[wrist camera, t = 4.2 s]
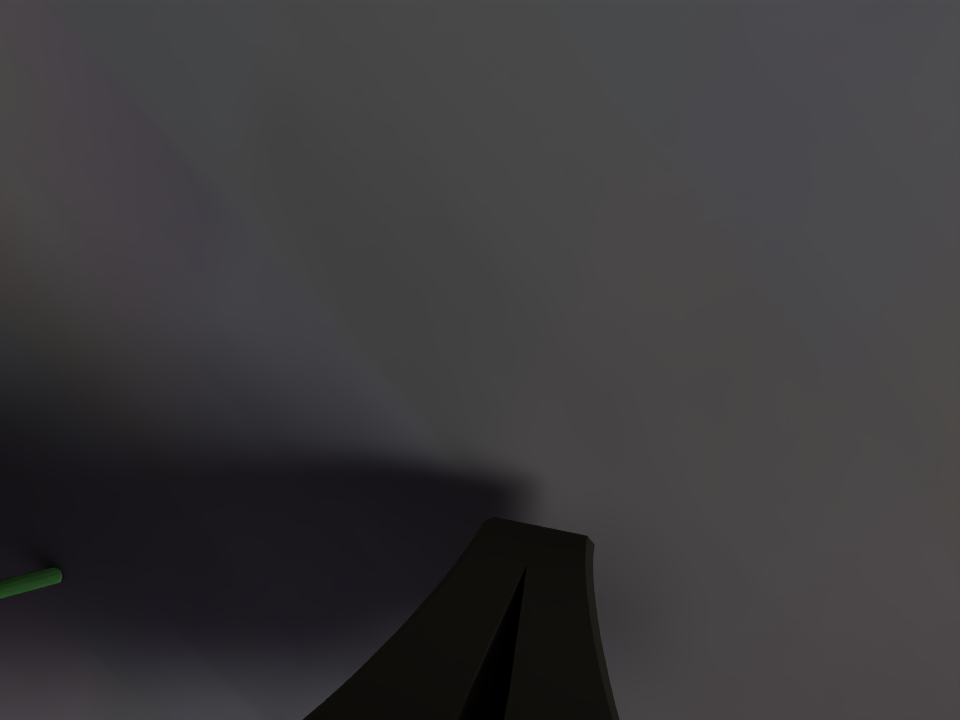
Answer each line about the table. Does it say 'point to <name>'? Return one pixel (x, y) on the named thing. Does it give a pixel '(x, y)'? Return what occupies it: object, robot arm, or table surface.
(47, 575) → the lily
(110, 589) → the table surface
